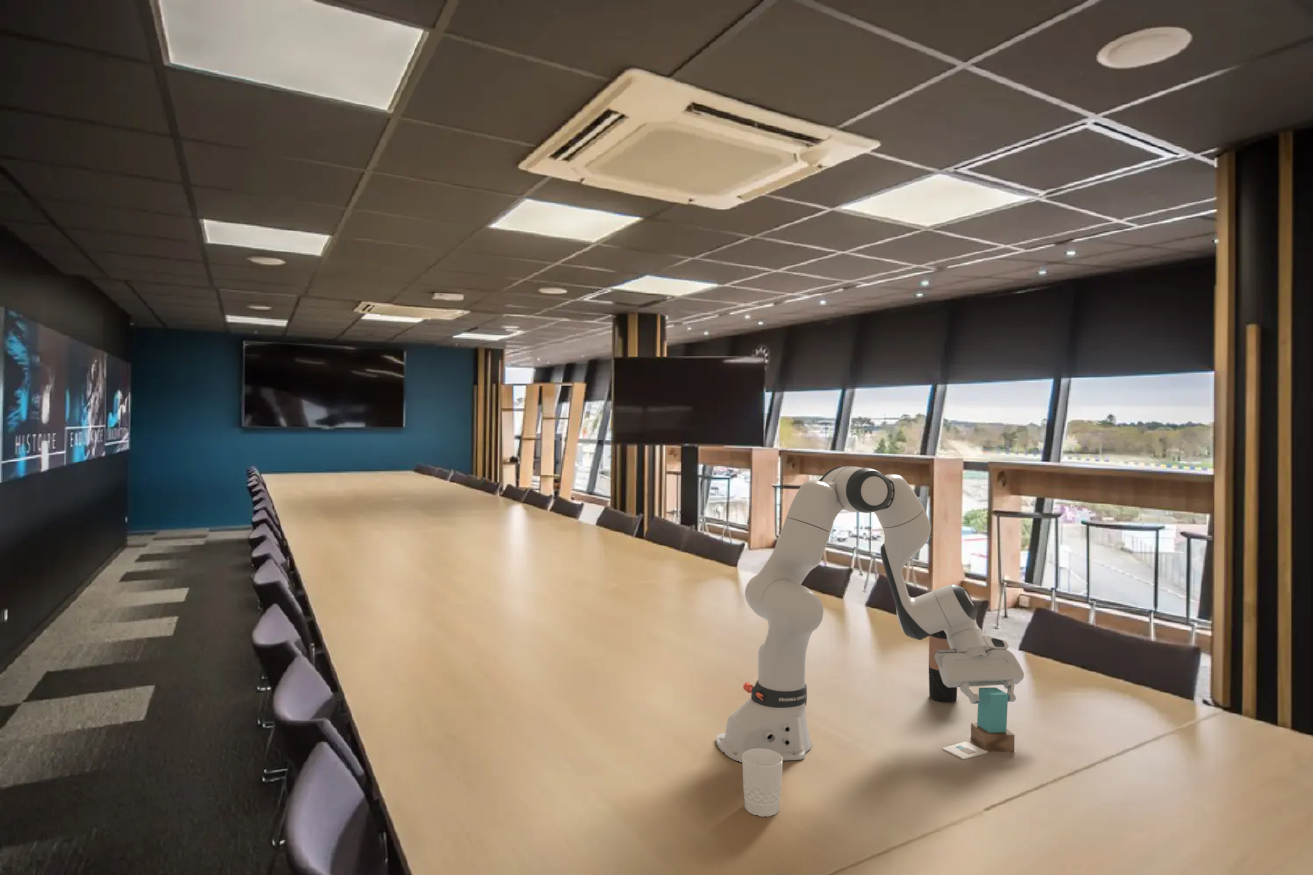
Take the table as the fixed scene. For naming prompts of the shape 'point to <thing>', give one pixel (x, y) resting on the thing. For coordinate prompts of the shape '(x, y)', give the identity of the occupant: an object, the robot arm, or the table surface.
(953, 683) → the robot arm
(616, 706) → the table surface
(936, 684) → the travel mug
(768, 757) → the white cup
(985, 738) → the walnut brick
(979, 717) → the teal brick
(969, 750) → the page
